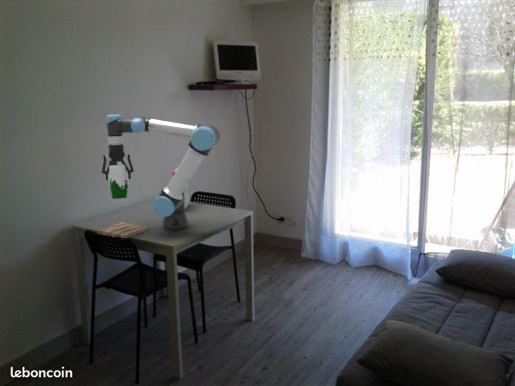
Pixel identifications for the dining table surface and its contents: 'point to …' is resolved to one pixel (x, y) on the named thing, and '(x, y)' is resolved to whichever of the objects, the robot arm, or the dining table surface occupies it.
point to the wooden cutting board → (122, 230)
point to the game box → (184, 193)
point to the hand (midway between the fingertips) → (119, 185)
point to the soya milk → (118, 180)
